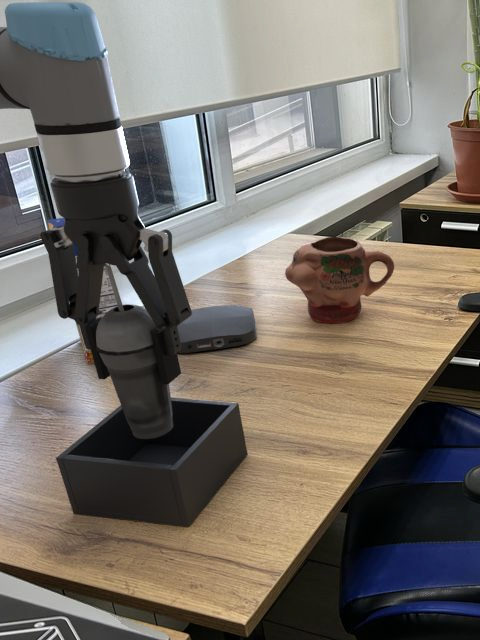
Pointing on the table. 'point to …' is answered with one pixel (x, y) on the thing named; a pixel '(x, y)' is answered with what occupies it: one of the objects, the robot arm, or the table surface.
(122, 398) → the beverage cup
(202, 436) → the desk bin
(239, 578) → the table surface
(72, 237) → the robot arm
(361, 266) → the pink ceramic mug
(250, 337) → the media streaming box
